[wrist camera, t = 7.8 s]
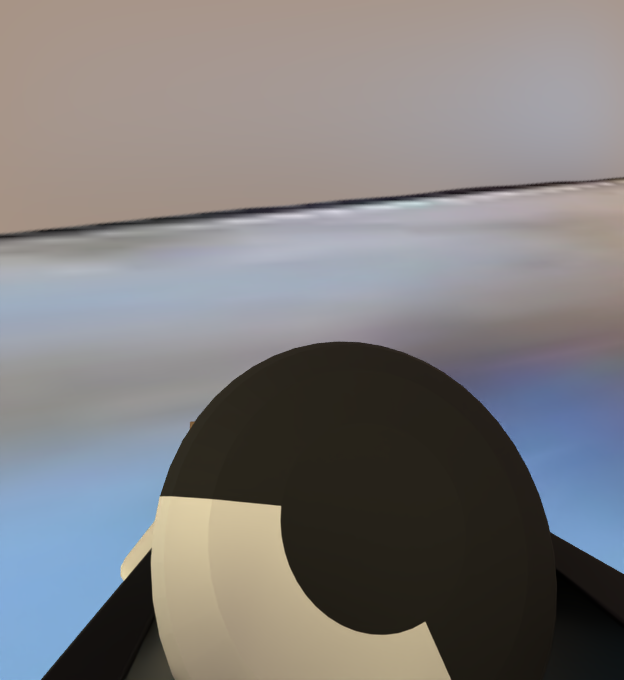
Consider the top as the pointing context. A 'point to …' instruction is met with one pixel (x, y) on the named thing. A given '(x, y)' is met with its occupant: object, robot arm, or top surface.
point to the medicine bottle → (350, 530)
